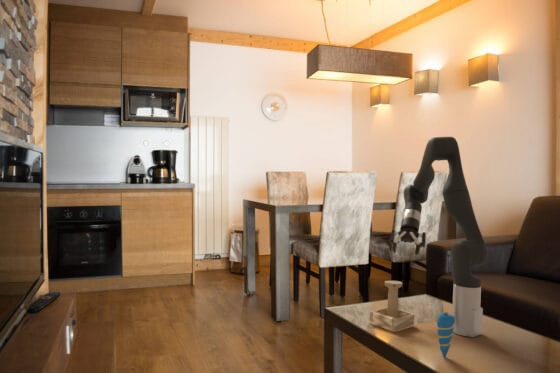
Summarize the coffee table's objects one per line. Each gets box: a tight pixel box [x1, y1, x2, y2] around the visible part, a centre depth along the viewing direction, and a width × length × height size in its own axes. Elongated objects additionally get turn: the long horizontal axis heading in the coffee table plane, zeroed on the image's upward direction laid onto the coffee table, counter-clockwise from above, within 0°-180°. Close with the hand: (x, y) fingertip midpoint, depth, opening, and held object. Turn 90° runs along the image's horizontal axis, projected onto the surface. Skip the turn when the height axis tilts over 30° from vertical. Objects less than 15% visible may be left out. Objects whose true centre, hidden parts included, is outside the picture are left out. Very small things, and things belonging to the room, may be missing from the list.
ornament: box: [436, 309, 455, 358], centre depth 143 cm, size 5×5×15 cm
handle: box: [384, 280, 403, 317], centre depth 173 cm, size 5×6×15 cm
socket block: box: [369, 306, 415, 333], centre depth 173 cm, size 12×12×5 cm
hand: (405, 252), depth 186 cm, fingers open, 8 cm apart
